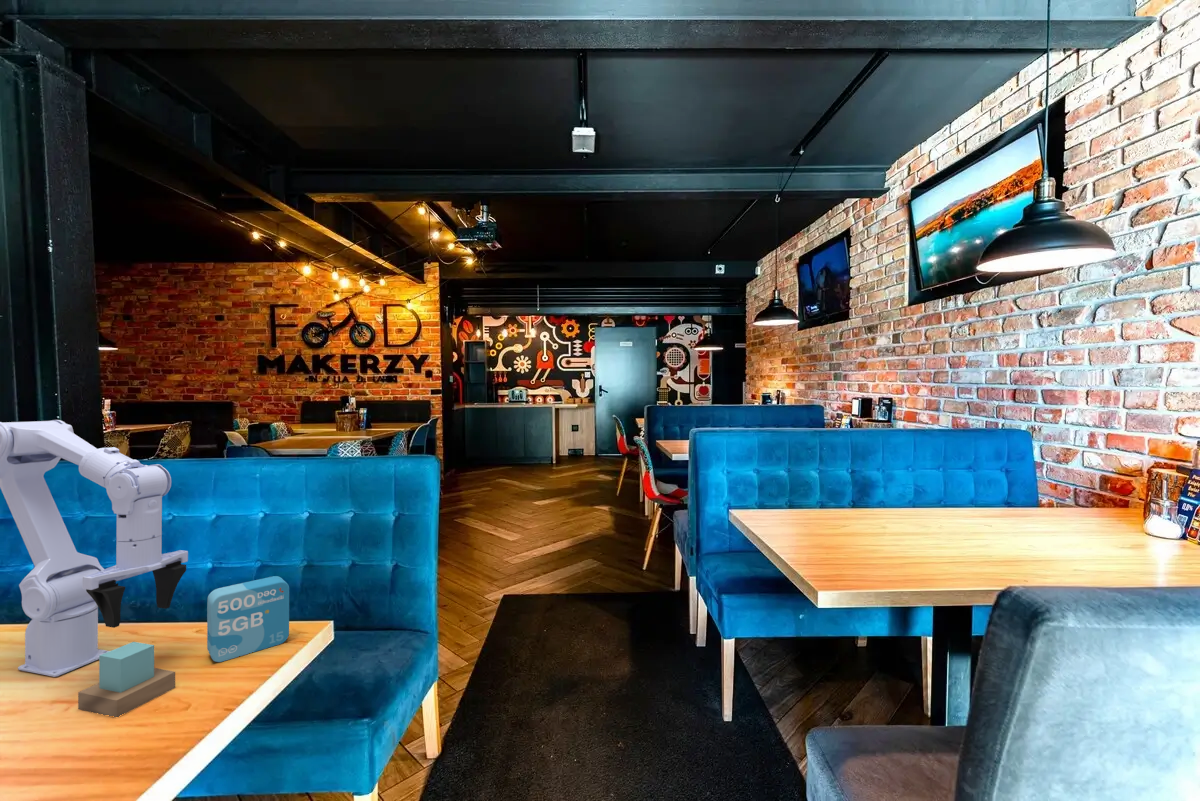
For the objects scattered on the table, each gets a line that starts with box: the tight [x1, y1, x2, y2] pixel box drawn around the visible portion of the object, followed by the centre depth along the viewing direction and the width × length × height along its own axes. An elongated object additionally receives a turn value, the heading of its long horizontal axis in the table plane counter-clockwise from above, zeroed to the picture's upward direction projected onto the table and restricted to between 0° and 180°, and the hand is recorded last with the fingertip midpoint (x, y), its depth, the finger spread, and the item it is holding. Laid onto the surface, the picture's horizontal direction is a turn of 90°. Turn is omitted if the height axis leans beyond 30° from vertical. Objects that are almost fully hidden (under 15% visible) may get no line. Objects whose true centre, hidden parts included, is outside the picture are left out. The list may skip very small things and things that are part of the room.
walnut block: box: [77, 667, 176, 718], centre depth 78 cm, size 8×8×3 cm
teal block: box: [98, 641, 155, 693], centre depth 78 cm, size 4×4×5 cm
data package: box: [206, 575, 290, 663], centre depth 94 cm, size 12×4×12 cm, turn 136°
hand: (139, 616), depth 86 cm, fingers open, 7 cm apart
